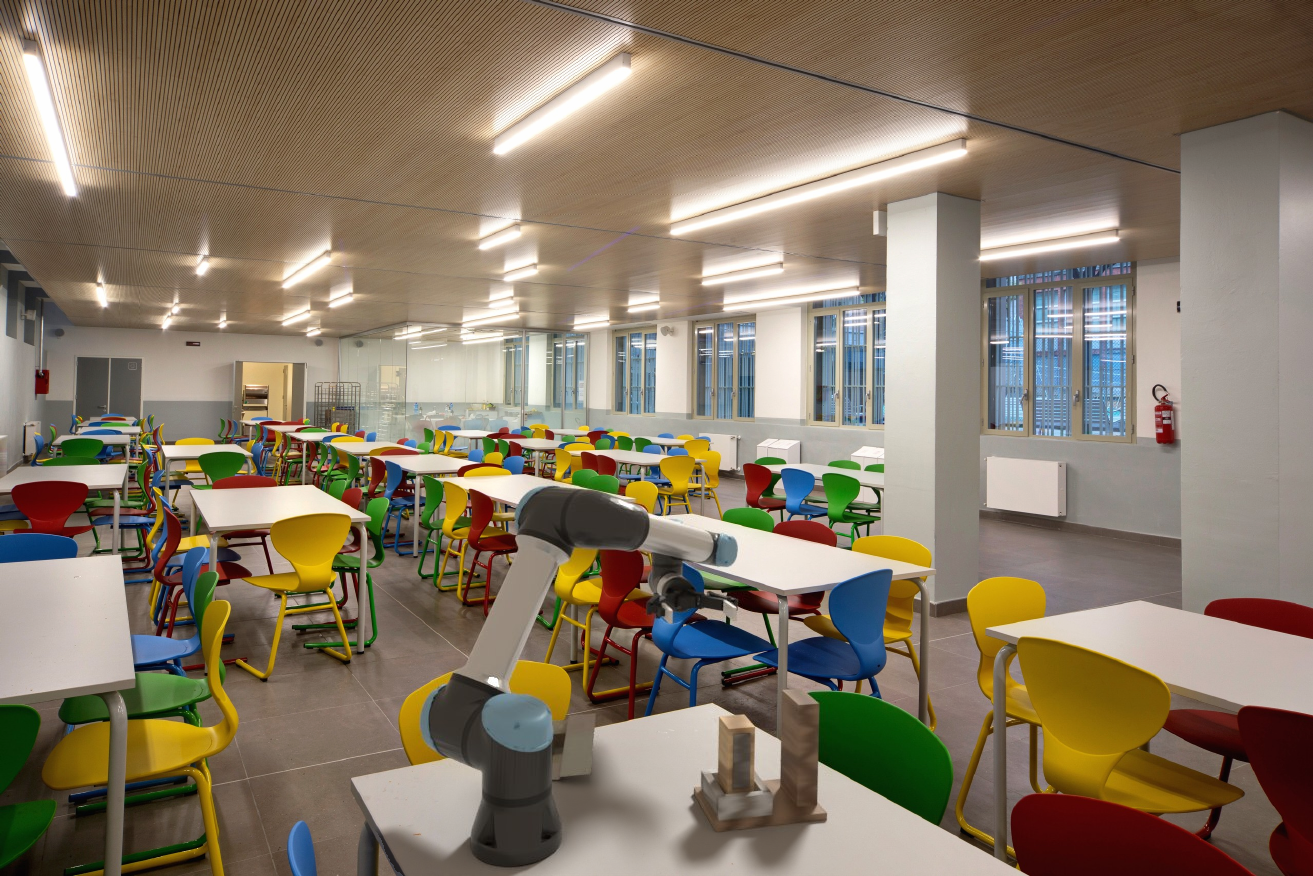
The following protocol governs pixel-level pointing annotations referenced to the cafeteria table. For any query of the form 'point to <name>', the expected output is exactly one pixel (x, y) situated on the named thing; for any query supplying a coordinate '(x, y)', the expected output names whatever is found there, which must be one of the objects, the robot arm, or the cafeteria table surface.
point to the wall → (573, 745)
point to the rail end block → (736, 754)
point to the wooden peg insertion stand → (779, 796)
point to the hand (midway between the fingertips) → (703, 615)
